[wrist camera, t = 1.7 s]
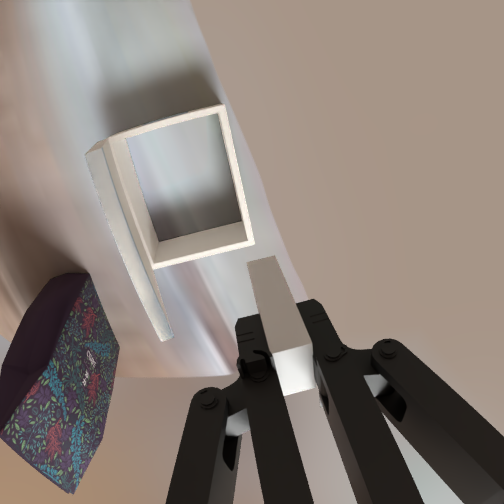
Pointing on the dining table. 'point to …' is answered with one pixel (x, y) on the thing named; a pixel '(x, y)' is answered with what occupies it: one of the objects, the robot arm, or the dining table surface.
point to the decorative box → (59, 380)
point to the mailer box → (156, 251)
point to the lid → (127, 234)
